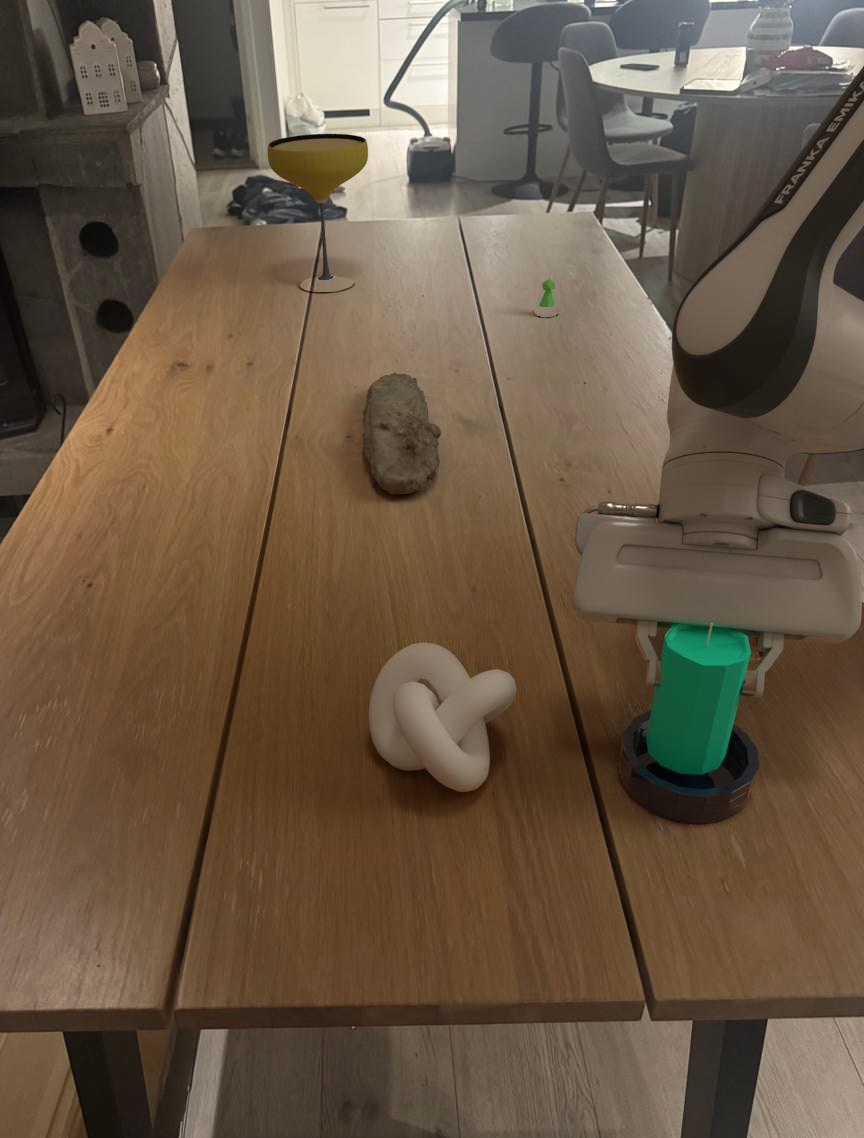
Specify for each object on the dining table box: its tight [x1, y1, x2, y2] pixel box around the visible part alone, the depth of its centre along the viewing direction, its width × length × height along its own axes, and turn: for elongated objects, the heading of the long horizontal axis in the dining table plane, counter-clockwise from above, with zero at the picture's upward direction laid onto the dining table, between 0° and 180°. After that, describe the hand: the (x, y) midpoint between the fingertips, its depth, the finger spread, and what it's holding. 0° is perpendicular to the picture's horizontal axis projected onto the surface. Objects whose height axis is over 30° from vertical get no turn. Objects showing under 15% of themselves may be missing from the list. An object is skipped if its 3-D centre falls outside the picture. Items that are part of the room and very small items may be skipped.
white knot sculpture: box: [368, 642, 518, 793], centre depth 77 cm, size 11×12×9 cm
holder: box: [618, 708, 760, 825], centre depth 76 cm, size 10×10×3 cm
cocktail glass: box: [267, 133, 369, 280], centre depth 179 cm, size 18×18×25 cm
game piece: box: [538, 278, 556, 307], centre depth 166 cm, size 4×4×6 cm
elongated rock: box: [362, 372, 442, 495], centre depth 127 cm, size 35×5×10 cm
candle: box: [646, 623, 751, 775], centre depth 71 cm, size 6×6×12 cm
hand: (703, 691), depth 70 cm, fingers closed on candle, 5 cm apart
